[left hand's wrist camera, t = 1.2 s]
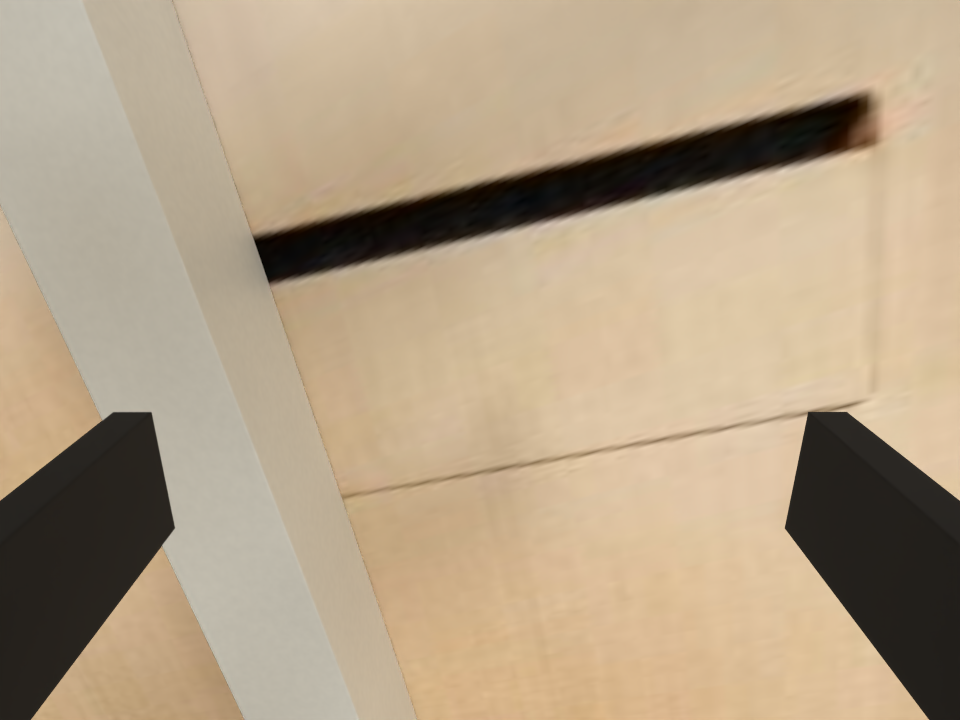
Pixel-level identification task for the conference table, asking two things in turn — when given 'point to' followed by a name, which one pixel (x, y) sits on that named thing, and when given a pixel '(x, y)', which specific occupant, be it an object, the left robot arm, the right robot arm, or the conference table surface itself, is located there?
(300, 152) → the conference table surface
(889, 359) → the conference table surface
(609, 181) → the conference table surface
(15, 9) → the plank
